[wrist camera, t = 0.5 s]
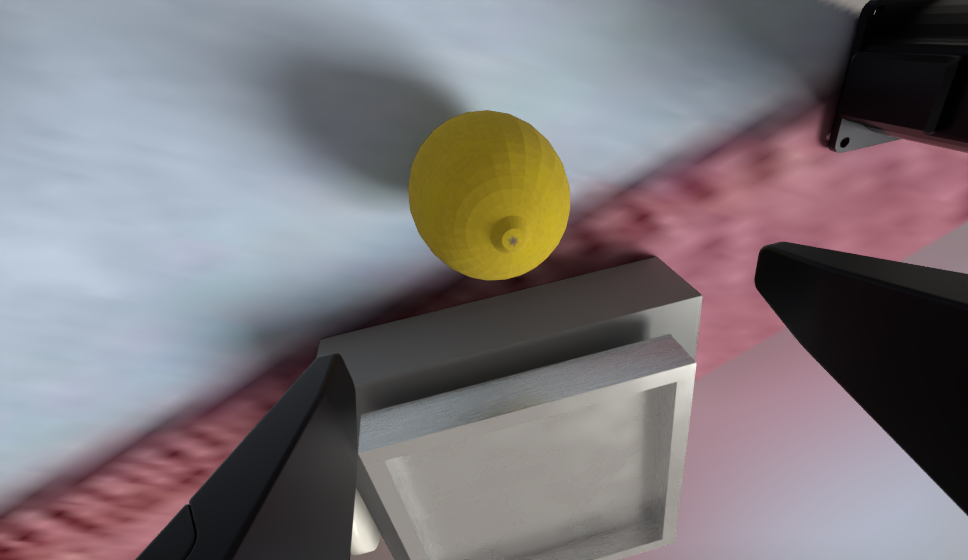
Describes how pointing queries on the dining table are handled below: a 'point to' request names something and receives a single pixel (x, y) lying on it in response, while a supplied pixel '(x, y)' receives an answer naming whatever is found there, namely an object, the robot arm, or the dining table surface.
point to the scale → (504, 349)
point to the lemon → (489, 195)
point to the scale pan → (540, 459)
